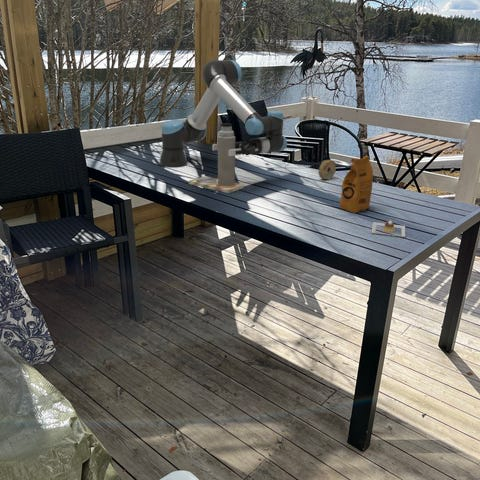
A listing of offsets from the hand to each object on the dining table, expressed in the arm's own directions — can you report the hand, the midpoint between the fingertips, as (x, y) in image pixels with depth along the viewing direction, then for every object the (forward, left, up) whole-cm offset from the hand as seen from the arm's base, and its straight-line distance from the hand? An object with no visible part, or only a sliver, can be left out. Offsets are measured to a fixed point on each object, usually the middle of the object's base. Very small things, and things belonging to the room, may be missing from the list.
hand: (220, 150), depth 225 cm
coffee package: (+61, +14, -18) cm, 65 cm away
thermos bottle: (+1, +3, -16) cm, 17 cm away
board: (-5, +3, -18) cm, 19 cm away
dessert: (+82, -3, -19) cm, 84 cm away
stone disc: (+30, +50, -18) cm, 61 cm away
